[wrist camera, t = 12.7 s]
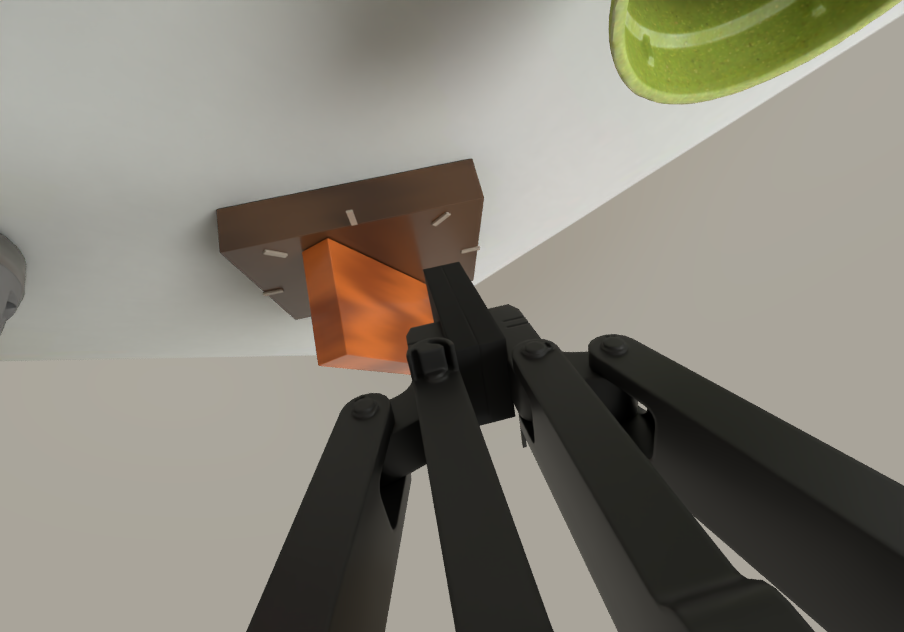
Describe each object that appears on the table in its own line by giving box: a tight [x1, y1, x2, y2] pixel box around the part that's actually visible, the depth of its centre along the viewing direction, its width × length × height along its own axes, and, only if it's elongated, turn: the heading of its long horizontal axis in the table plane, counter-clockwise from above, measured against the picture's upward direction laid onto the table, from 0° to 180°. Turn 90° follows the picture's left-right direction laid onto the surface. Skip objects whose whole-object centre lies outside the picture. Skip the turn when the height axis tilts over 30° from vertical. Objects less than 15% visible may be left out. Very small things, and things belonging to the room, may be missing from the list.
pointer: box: [302, 238, 434, 375], centre depth 31 cm, size 12×2×8 cm, turn 29°
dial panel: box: [216, 159, 484, 320], centre depth 32 cm, size 16×16×3 cm
